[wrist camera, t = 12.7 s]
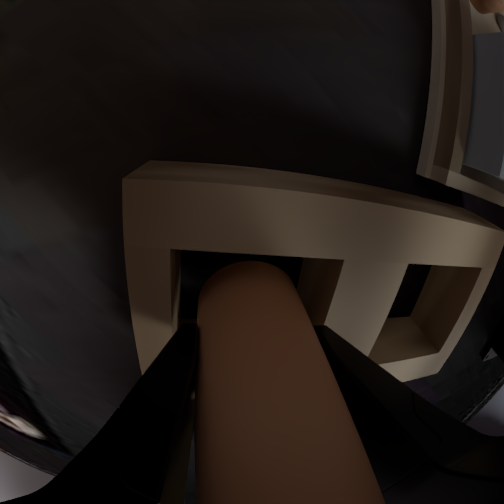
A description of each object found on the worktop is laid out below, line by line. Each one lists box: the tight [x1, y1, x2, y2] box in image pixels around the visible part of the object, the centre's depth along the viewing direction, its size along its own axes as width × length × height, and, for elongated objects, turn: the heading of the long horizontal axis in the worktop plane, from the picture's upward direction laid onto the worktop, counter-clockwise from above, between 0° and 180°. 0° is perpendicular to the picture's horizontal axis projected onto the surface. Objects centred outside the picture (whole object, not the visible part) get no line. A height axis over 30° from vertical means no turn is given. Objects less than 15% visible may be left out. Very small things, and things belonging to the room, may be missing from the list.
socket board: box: [122, 160, 504, 382], centre depth 10 cm, size 14×8×3 cm, turn 82°
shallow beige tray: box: [416, 0, 504, 207], centre depth 7 cm, size 8×14×2 cm, turn 172°
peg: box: [195, 261, 386, 504], centre depth 6 cm, size 3×3×7 cm
